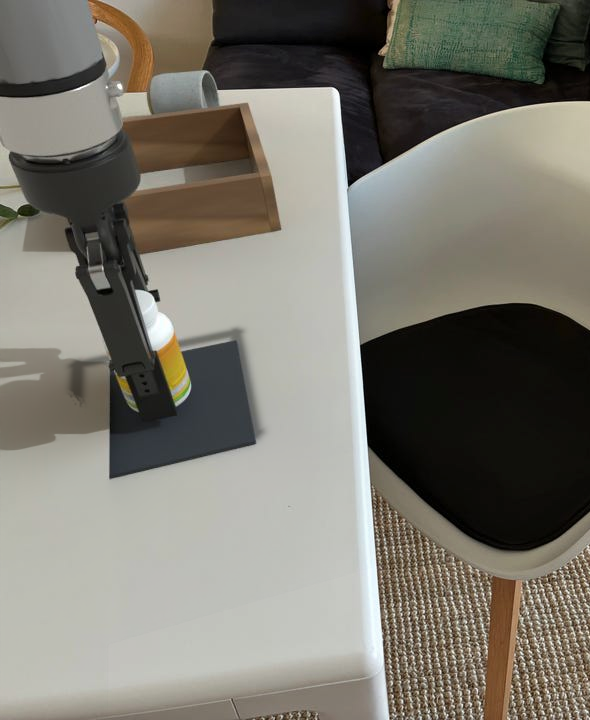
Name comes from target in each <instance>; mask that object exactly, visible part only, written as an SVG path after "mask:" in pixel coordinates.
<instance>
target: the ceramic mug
mask: <svg viewBox="0 0 590 720" xmlns="http://www.w3.org/2000/svg"><path fill="white" fill-rule="evenodd" d="M219 95H220V94H219V90H218V87H217V83H216V81H215V78H214V77H213V75H212V73H211V72H210V71H208V70H204V69H202V70H193V71H182V72H181V71H180V72H167V73H166V72H165V73H160V74H158V75H154V76H152V77H151V78H149V81H148V83H147V86H146V103H147V106H148V110H149V113H150V115H154V114H162V113H170V112H178V111H186V110H193V109H201V108H209V107H217V106H221V101H220V96H219Z"/></svg>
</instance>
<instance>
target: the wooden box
mask: <svg viewBox="0 0 590 720" xmlns="http://www.w3.org/2000/svg"><path fill="white" fill-rule="evenodd" d="M122 118H123V117H122ZM121 129H123V130H124V131H125V132H126V133H127V134H128V135H129V138H130V141H131V145H132V148H133V151H134V155H135V158H136V161H137V164H138V168H139V171H140V174H145V173H153V172H157V171H159V172H161V171H166V170H171V169H180V168H185V167H186V168H187V167H193V166H199V165H200V166H201V165H206V164H213V163H222V162H228V161H236V160H240V159H241V160H242V159H248V158H249V160H250V163H251V167H252V170H253V172H252V173H251V172H250V173H246V174H245V173H244V174H238V175H233V176H232V175H231V176H225V177H219V178H210V179H205V180H198V181H191V182H184V183H179V184H172V185H165V186H159V187H152V188H151V187H150V188H145V189H139V190H136V191H135V192H134V193H133V194H132V195H131V196H130V197H128V198H127V199H125V200H124V202H125V205H126V207H127V210H128V216H129V225H130V227H131V230H132V233H133V236H134V240H135V243H136V246H137V249H138V252H139V255H143V254H148V253H154V252H155V253H156V252H161V251H166V250H172V249H178V248H185V247H189V246H195V245H202V244H208V243H213V242H219V241H224V240H230V239H238V238H243V237H248V236H254V235H261V234H266V233H272V232H279V231H282V224H281V219H280V213H279V208H278V204H277V203H278V202H277V198H276V193H275V192H276V191H275V186H274V181H273V176H272V173H271V170H270V166H269V163H268V161H267V157H266V154H265V151H264V148H263V145H262V142H261V139H260V135H259V133H258V130H257V126H256V123H255V120H254V117H253V114H252V111H251V107H250V104H249V102H241V103H240V102H239V103H233V104H225V105H220V106H217V107H209V108H201V109H193V110H186V111H178V112H170V113H162V114H154V115H151V114H148V115H146V114H145V115H139V116H132V117H125V118H123V126H122V128H121ZM122 202H123V201H122Z"/></svg>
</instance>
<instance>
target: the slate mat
mask: <svg viewBox="0 0 590 720" xmlns="http://www.w3.org/2000/svg"><path fill="white" fill-rule="evenodd" d="M181 353H182V356H183V359H184V362H185V365H186V368H187V371H188V374H189V377H190V381H191V390H190V393H189V395H188V397H187V398H186V399H185V400H184V401H183V402H182V403H181V404H179V405H178V406H176V409H177V415H176V416H172V417H167V418H163V419H158V420H154V421H149V422H145V423H143V421H142V419H141V416H140V413H139V412H137V411H135V410H133V409H132V408H131V407H130V406H129V405H128V403H127V401H126V399H125V397H124V394H123V392H122V390H121V387H120V385H119V382H118V380H117V377H116V375H115V372H114V370H113V371H110V370H109V425H108V426H109V430H108V431H109V433H108V435H109V443H108V445H109V447H108V448H109V449H108V452H109V453H108V455H109V456H108V459H109V460H108V478H109V479H114V478H119V477H122V476H127V475H131V474H135V473H141V472H145V471H149V470H151V469H152V470H153V469H157V468H160V467H164V466H169V465H173V464H177V463H180V462H181V463H182V462H186V461H189V460H193V459H197V458H202V457H207V456H210V455H214V454H219V453H223V452H227V451H231V450H236V449H240V448H244V447H248V446H252V445H256V444H257V439H256V434H255V429H254V424H253V418H252V413H251V408H250V404H249V403H250V402H249V398H248V392H247V387H246V382H245V377H244V371H243V366H242V360H241V355H240V350H239V343H238V340H236V339H235V340H230V341H225V342H220V343H216V344H211V345H210V344H209V345H206V346H200V347H196V348H192V349H186V350H182V351H181Z"/></svg>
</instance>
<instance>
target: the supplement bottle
mask: <svg viewBox="0 0 590 720" xmlns="http://www.w3.org/2000/svg"><path fill="white" fill-rule="evenodd" d="M135 292H136V296H137V299H138V302H139V306H140V309H141V312H142V316H143V319H144V323H145V326H146V329H147V333H148V336H149V339H150V343H151V346H152V350H153V351H157V354H158V356H159V359H160V362H161V365H162V368H163V371H164V374H165V377H166V380H167V383H168V385H169V388H170V391H171V394H172V397H173V400H174V403H175V406H178V405H179V404H181V403H182V402H183V401H184V400H185V399H186V398H187V397H188V395H189V393H190V390H191V381H190V377H189V374H188V371H187V368H186V365H185V362H184V359H183V356H182V353H181V347H180V345H179V342H178V341H179V340H178V337H177V335H176V332H175V329H174V326H173V323H172V321H171V319H169V317H167V315H165V314H164V313H163V312H160V311H159V308H158V305H157V302H155V300H154V297H153V296H152V295H151V294H150V293H148V292H146V291H142V290H135ZM101 340H102V344H103V347H104V350H105V352H106V355H107V357H108V360H109V361H110V360H112V359H111V357H110V354H109V352H108V349H107V346H106V344H105V341H104V339H103V336H102V335H101ZM114 372H115V370H114ZM115 375H116V377H117V380H118V382H119V385H120V387H121V390H122V392H123V394H124V397H125V399H126V401H127V403H128V405H129V406H130V407H131V408H132V409H133V410H135V411H137V412H139V411H138V408H137V406H136V403H135V401H134V398H133V396H132V393H131V390H130V388H129V385H128V383H127V380H126V378H125V376H123V377H118V376H117V373H115Z"/></svg>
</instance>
